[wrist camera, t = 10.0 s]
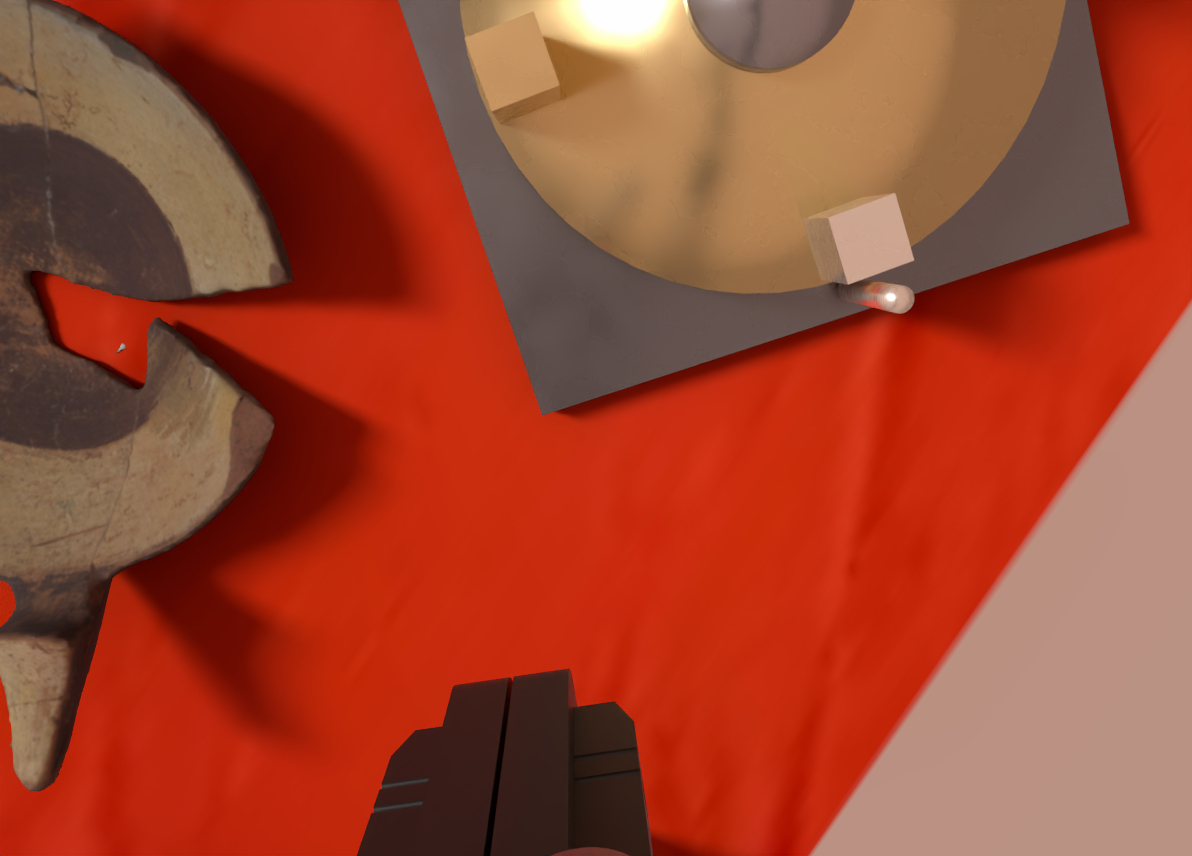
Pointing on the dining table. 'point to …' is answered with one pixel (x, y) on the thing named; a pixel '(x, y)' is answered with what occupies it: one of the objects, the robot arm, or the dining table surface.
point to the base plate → (739, 321)
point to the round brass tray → (759, 124)
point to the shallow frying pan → (93, 394)
